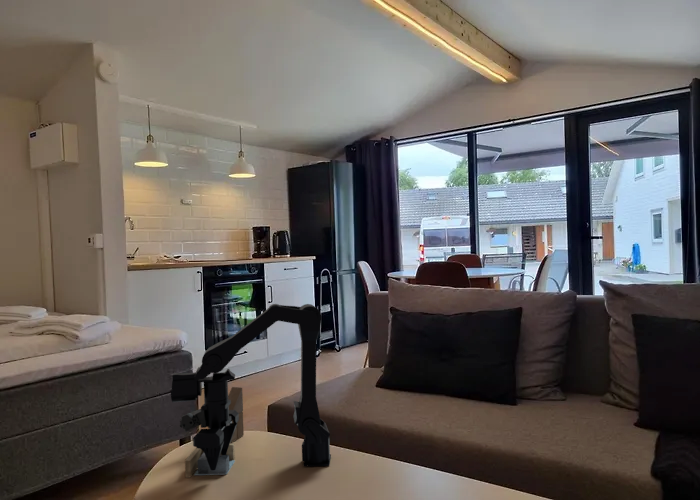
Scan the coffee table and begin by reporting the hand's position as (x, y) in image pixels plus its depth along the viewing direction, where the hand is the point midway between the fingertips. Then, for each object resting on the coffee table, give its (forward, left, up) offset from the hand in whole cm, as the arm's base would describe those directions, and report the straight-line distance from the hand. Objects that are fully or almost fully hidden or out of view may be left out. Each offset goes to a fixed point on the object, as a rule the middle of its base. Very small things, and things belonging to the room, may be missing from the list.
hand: (218, 462), depth 127 cm
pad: (+2, -3, -2) cm, 4 cm away
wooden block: (+3, -21, -3) cm, 21 cm away
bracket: (+1, -2, -2) cm, 3 cm away
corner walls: (+2, -3, -2) cm, 4 cm away
